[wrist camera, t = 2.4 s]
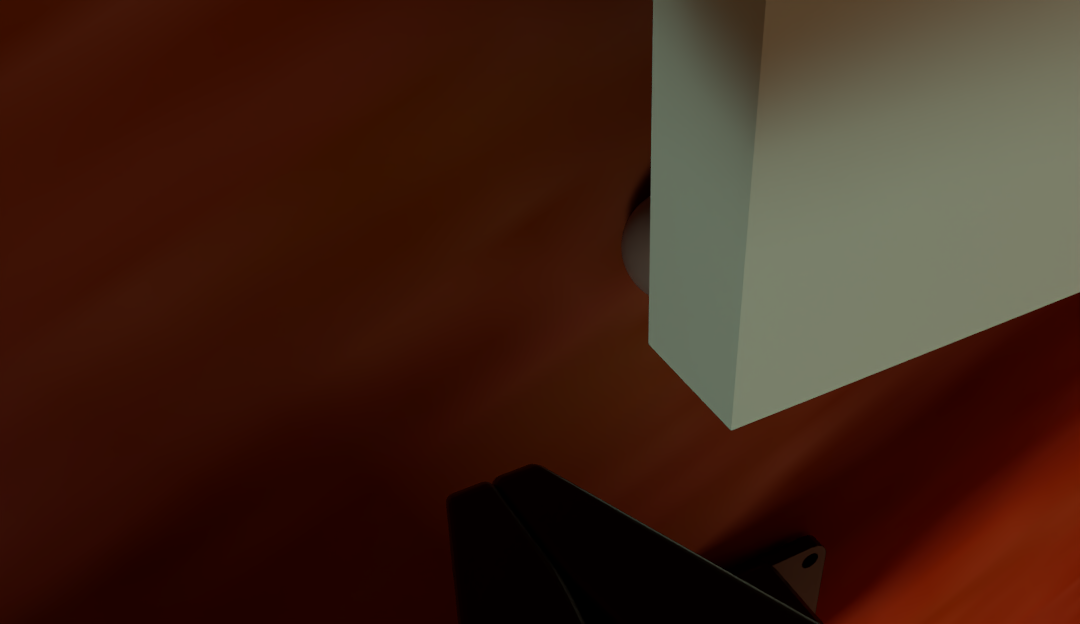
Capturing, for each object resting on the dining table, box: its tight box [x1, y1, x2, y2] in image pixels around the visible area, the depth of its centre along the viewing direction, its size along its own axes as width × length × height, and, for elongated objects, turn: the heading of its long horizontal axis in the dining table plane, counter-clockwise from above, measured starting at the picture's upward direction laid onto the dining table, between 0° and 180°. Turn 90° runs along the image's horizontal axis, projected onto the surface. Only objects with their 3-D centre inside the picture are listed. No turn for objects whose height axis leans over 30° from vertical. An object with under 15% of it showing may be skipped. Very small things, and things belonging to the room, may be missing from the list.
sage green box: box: [621, 0, 1080, 430], centre depth 16 cm, size 8×10×4 cm
